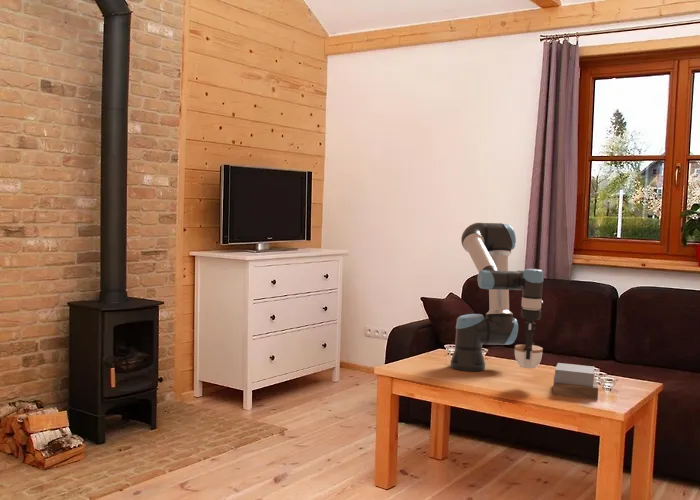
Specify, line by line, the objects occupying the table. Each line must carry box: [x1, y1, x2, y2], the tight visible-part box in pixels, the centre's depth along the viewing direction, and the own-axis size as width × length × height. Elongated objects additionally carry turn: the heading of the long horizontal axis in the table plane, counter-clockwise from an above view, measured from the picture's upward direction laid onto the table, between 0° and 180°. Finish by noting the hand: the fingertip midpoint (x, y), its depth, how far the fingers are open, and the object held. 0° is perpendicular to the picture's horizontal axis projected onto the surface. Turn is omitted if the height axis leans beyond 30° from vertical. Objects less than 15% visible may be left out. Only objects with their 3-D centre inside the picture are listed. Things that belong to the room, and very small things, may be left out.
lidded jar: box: [514, 343, 544, 369], centre depth 290 cm, size 11×11×9 cm
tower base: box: [552, 374, 599, 401], centre depth 287 cm, size 16×16×5 cm
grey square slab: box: [554, 362, 596, 387], centre depth 287 cm, size 14×14×5 cm
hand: (527, 364), depth 290 cm, fingers closed on lidded jar, 11 cm apart
